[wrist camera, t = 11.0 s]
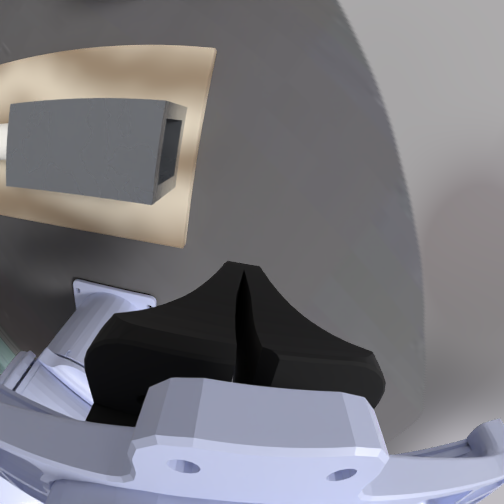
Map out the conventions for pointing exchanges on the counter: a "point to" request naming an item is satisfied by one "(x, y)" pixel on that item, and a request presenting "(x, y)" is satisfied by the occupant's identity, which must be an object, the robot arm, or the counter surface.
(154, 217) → the base board
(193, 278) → the counter surface
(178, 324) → the robot arm
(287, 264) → the counter surface
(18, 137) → the sleeve
